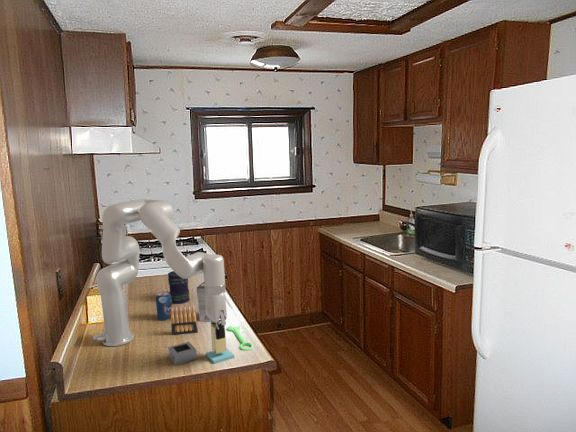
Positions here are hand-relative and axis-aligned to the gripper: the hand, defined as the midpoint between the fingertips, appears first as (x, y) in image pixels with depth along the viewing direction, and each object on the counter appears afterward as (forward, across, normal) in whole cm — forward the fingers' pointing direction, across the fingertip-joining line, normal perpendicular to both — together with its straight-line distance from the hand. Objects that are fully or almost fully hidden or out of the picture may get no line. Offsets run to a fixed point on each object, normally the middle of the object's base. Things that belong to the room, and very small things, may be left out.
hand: (218, 335), depth 166 cm
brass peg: (+6, 0, 0) cm, 6 cm away
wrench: (+9, -10, +13) cm, 19 cm away
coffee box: (+8, -39, +11) cm, 41 cm away
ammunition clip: (+8, -29, -4) cm, 30 cm away
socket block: (+8, -7, -12) cm, 16 cm away
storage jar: (+9, -70, +7) cm, 71 cm away
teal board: (+8, 0, 0) cm, 8 cm away
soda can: (+8, -51, -6) cm, 52 cm away
